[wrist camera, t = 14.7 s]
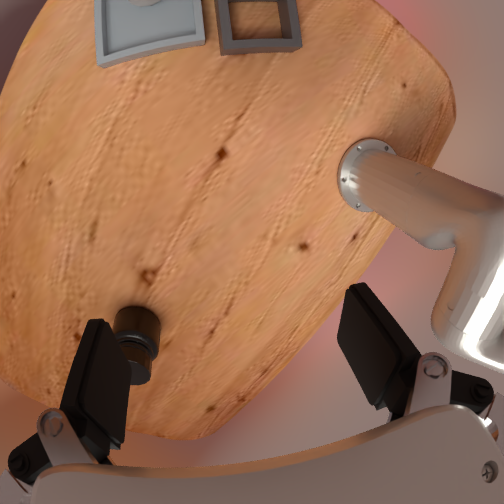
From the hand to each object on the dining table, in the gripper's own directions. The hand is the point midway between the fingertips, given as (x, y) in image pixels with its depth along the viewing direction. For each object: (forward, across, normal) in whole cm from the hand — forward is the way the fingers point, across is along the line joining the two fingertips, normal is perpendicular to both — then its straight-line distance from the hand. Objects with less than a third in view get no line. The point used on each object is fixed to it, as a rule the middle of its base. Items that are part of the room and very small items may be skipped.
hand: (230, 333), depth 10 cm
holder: (+31, -8, -21) cm, 39 cm away
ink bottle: (+31, +17, +26) cm, 44 cm away
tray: (+31, +7, -27) cm, 42 cm away
